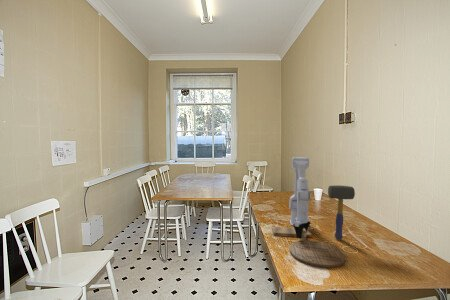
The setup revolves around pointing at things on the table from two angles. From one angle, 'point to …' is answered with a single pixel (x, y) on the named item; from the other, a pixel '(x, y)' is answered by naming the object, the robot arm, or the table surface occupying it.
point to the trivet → (317, 254)
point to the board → (287, 232)
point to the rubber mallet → (340, 204)
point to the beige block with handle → (303, 235)
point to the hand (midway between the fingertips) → (301, 236)
